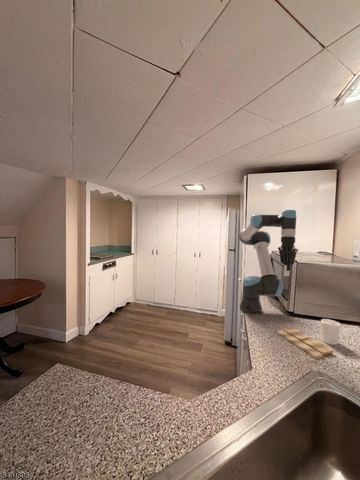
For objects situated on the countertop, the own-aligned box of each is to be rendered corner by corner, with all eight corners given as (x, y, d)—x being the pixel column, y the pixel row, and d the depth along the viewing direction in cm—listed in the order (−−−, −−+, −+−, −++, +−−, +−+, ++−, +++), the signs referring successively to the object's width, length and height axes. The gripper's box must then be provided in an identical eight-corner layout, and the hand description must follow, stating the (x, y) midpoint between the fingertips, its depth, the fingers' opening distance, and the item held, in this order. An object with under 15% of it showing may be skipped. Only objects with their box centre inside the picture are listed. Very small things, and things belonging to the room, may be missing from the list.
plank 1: (283, 331, 113) (283, 329, 113) (292, 329, 114) (292, 327, 114) (300, 341, 102) (300, 339, 102) (309, 339, 104) (309, 336, 104)
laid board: (275, 332, 112) (275, 330, 112) (282, 331, 113) (282, 329, 113) (315, 358, 89) (315, 355, 89) (323, 357, 90) (323, 354, 90)
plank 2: (302, 342, 101) (302, 340, 101) (311, 340, 103) (311, 337, 103) (323, 355, 91) (323, 353, 91) (333, 352, 92) (333, 349, 92)
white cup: (339, 347, 98) (340, 327, 98) (319, 342, 103) (320, 322, 102) (339, 340, 104) (340, 321, 104) (320, 335, 109) (321, 317, 109)
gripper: (274, 235, 125) (273, 273, 126) (291, 236, 113) (290, 278, 114) (284, 236, 127) (283, 273, 128) (302, 236, 115) (300, 277, 116)
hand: (286, 275), depth 121 cm, fingers closed
